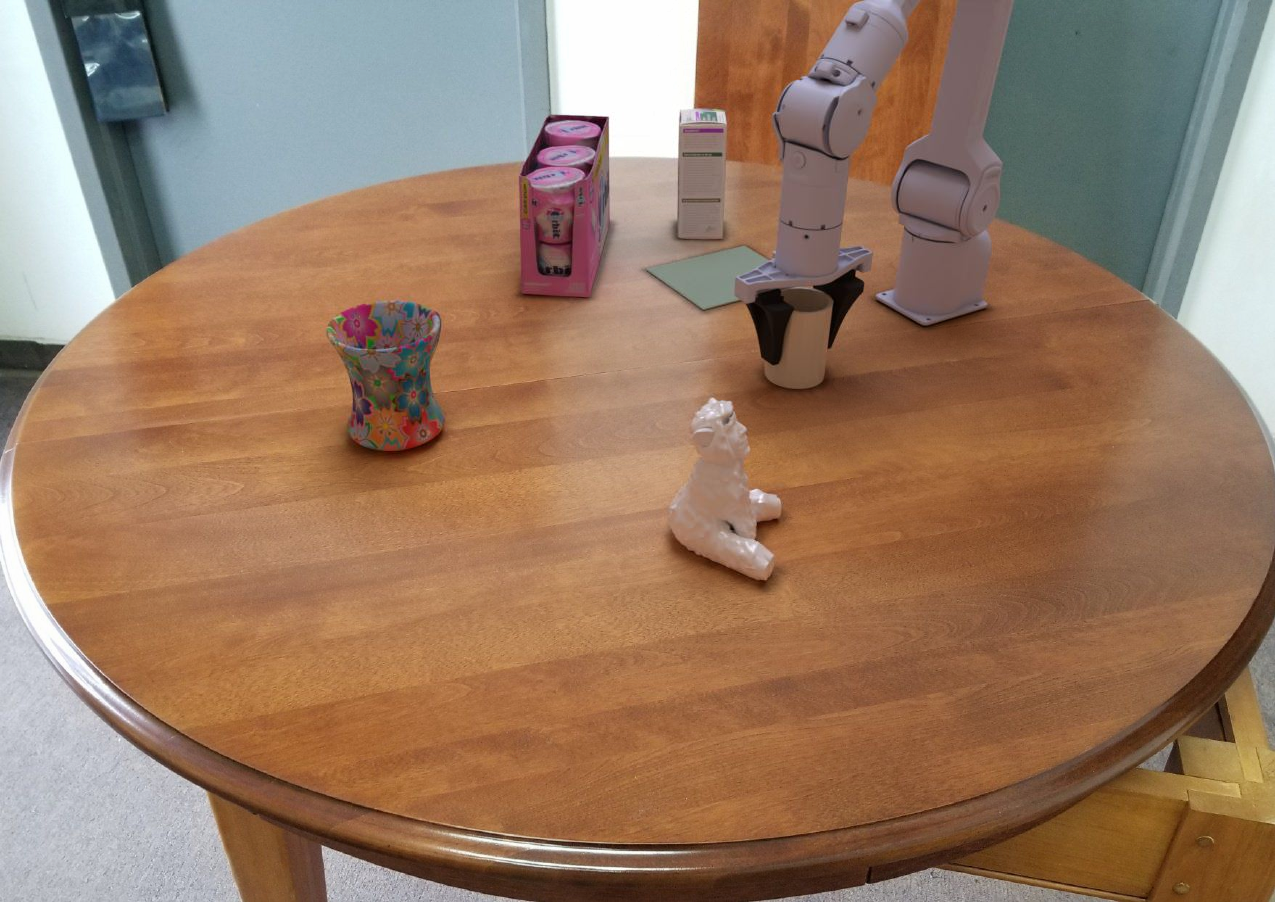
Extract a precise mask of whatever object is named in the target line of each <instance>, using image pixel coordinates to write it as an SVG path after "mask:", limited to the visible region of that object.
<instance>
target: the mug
mask: <svg viewBox="0 0 1275 902" xmlns="http://www.w3.org/2000/svg"><path fill="white" fill-rule="evenodd" d="M441 317H442V316H441V315H440V313H439V312H437V311H436V310H434V309H431V308H429V307H428V306H426V305H423V304H420V303H418V302H417V303H416V302H412V301H405V300H380V301H379V300H378V301H371V302H367V303H362V304H358V305H355V306H352V307H349V308H347V309H345V310H343V311H341V312H340V313H338V314H337V315H335V316H334V317H333V318H332V319H331V320H330V321H329V323H328V324H327V327H326V330H325V331H326V337H327V339H328V341H329V343H330V344H331V345H332V346H333V348H334V349H335V350H336V352H337V354H338V355H339V358H340V359H341V361H342V363H343V365H344V367H345V370H346V372H347V375H348V379H349V383H350V387H351V393H352V407H351V412H350V415H349V418H348V421H347V426H346V429H347V433H348V434H349V437H350V438H351V439H352V440H353V441H354V442H355V443H357V444H358V445H359V446H362V447H364V448H366V449H370V450H375V451H384V452H394V451H395V452H396V451H397V452H398V451H404V450H409V449H413V448H416V447H419V446H421V445H423V444H426V443H428V442H429V441H431V440H433V439H434V438H435V437H437V436H438V435H439V434H440V432H441V431H442V430H443V428H444V425H445V423H446V416H445V413H444V411H443V409H442V408H441V406H440V405H439V403H438V401H437V399H436V397H435V395H434V390H433V388H432V382H431V362H432V360H433V358H434V355H435V353H436V350H437V348H438V345H439V341H440V337H441V331H442V318H441Z"/></svg>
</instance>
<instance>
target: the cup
mask: <svg viewBox="0 0 1275 902" xmlns="http://www.w3.org/2000/svg"><path fill="white" fill-rule="evenodd" d="M781 296H784V301H785V302H787V303H788V304H790V305H791V306H793V307H794V308H795V309H794V311H793V313H792V315H791V317H790V319H789V322H788V325H787V328H786V331H785V335H784V341H783V349H782V356H781V359H780V362H779V364H777V365H771V364H770V363H768V362H767V361H766V360H764V365H763V367H764V371H763V372H764V376H765V378H766V379H767V380H768V381H769V382H770V383H772V384H774V385H776V386H779V387H782V388H786V389H792V390H804V389H810V388H813V387H816V386H818V385H819V384H821V383H822V382H823V381H824V379H825V372H826V366H827V358H828V351H829V349H828V343H829V335H830V326H831V318H832V310H833V302H834V301H833V299H832V298H831V297H830V295H828V294H826V293H825V292H823V291H820V290H817V289H814V288H813V287H809V286H802V287H794V288H790V289H786V290H782V291H781Z"/></svg>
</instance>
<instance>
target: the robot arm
mask: <svg viewBox="0 0 1275 902" xmlns="http://www.w3.org/2000/svg"><path fill="white" fill-rule="evenodd" d="M920 2H921V0H861V1H856V2H854V3H852V5H851V6H850V7H849V9H848V10H847V12H846V13H845V15H844V17H843V18H842V20H841V21H840V23H839V25H838V26H837V28H836V30H835V31H834V33H833V34H832V36H831V38H830V39H829V40H828V42H827V43H826V45H825V47H824V49H823V50H822V52H821V53H820V56H818V58H817V60H816V61H815V63H814V64H813V66H812V67H811V69H810V70H809V72H808V74H807V75H804V76H801V77H799V79H796V80H793V81H791V82H790V83H789V84H788V85H786V86H785V88H784V89H783V91H782V92H781V94H780V96H779V98H778V101H777V105H776V108H775V112H773V113H772V115H771V124H772V131H773V134H774V136H775V138H776V139H777V143H778V151H777V152H778V153H777V158H778V159H779V162H780V163H781V164H782V177H781V187H780V196H779V199H780V200H779V211H778V220H777V221H778V223H777V234H776V245H775V246H776V247H775V250H773V251H772V257H771V259H770V260H769V259H768V260H769V261H768V262H766V263H764V264H762V265H761V266H759V267H757V268H755V269H753V270H752V271H750V272H748V273H745V274H743V275H739V276H736V277H735V291H734V296H736V297H737V298H738V299H740V300H741V302H743V303H744V304H745V306H746V308H747V310H748V312H749V314H750V316H751V317H750V318H751V319H752V322H753V325H754V329H755V332H756V337H757V341H758V347H759V353H760V358H761V359H762V360H764V361H765V360H766V361H767V362H768V363H770V364H771V365H777V364H779V362H780V359H781V356H782V349H783V341H784V335H785V331H786V328H787V325H788V322H789V319H790V317H791V315H792V313H793V311H794V309H795V308H794V307H793V306H791V305H790V304H788V303H787V302H785V301H784V296H781V291H782V290H786V289H790V288H794V287H812V288H814V289H817V290H820V291H823V292H825V293H826V294H828V295H830V297H831V298H832V299H833V301H834V302H833V310H832V318H831V326H830V335H829V343H828V350H829V349H832V347H833V345H834V343H835V341H836V338H837V335H838V333H839V331H840V329H841V326H842V324H843V322H844V320H845V317H846V316H847V314H848V312H849V311H850V310H851V308H852V306H853V305H854V304H855V302H856V301H857V300H858V298H860V296H861V295H862V294H863V293H864V289H865V281H864V280H862V279H861V278H859V277H857V276H856V274H857V271H858V272H859V273H863V274H864V273H868V272H871V270H872V264H873V257H874V251H872V250H869V249H867V248H866V247H864V246H862V245H859V244H858V245H855V246H848V247H841V242H842V233H843V225H844V224H843V223H844V217H845V208H846V199H847V193H848V192H847V191H848V183H849V175H850V167H851V159H852V154H854V153H855V152H856V151H857V150H858V149H859V147H860V146H861V144H862V143H863V142H864V141H865V139H866V137H867V135H868V133H869V130H870V128H871V127H870V126H871V123H872V116H873V113H874V110H875V108H876V107H877V102H878V99H879V98H878V96H877V92H878V91H879V89H880V87H881V86H882V84H883V82H884V81H885V79H886V77H887V76H888V74H889V73H890V71H891V69H892V68H893V67H894V65H895V63H896V62H897V60H898V58H899V57H900V55H901V54H902V53H903V50H904V49H905V47H906V46H907V44H908V43H909V30H908V25H907V19H908V18H909V17H910V16H911V14H912V13H913V11H914V10H915V9H916V7H917V5H919V3H920ZM1014 2H1015V0H957V1H956V5H955V11H954V15H953V20H952V24H951V28H950V33H949V39H948V43H947V47H946V53H945V59H944V63H943V67H942V72H941V77H940V82H939V87H938V92H937V97H936V102H935V107H934V110H933V116H932V120H931V124H930V129H929V133H928V134H926V135H924V136H922V137H920V138H918V139H916V140H915V141H913V142H911V143H910V144H909V145H907V146H906V148H905V150H904V153H903V157H902V160H901V163H900V166H899V168H898V170H897V172H896V174H895V176H894V180H893V181H892V185H891V190H890V200H891V205H892V208H893V211H894V212H895V213H896V214H898V215H899V216H898V224H899V225H902V226H903V231H902V236H901V237H902V238H901V244H900V250H899V256H898V263H897V268H896V275H895V282H894V287H893V289H889V290H886V291H882V292H878V293H876V295H875V299H876V300H877V301H879V302H880V303H883V304H884V305H886V306H888V307H889V308H891V309H893V310H894V311H896V312H898V313H900V314H901V315H904V316H905V317H907V318H909V319H910V320H912V321H914V322H916V323H918V324H919V325H921V326H930V325H933V324H937V323H940V322H943V321H946V320H947V321H948V320H949V319H950V320H951V319H952V318H956V317H959V316H960V317H961V316H963V315H966V314H969V313H974V312H977V311H979V310H983V309H987V308H988V302H986V301H985V300H983V297H984V291H985V288H986V282H987V279H988V273H989V269H990V264H991V258H992V254H993V253H992V251H993V245H992V244H993V243H992V240H991V236H990V234H989V232H988V230H987V229H988V228H989V227H990V225H991V224H992V223H993V221H994V219H995V217H996V215H997V212H998V210H999V207H1000V204H1001V203H1000V202H1001V178H1002V172H1003V165H1004V164H1003V162H1002V160H1001V159H1000V157H999V156H998V155H997V154H996V152H995V151H994V150H993V149H992V148H991V147H990V145H989V144H988V143H987V142H986V140H985V139H984V136H983V135H984V131H985V127H986V122H987V119H988V113H989V110H990V106H991V101H992V96H993V93H994V89H995V84H996V79H997V76H998V70H999V66H1000V62H1001V57H1002V53H1003V50H1004V45H1005V41H1006V37H1007V34H1008V33H1007V32H1008V28H1009V24H1010V20H1011V15H1012V11H1013V7H1014Z"/></svg>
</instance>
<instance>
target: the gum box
mask: <svg viewBox="0 0 1275 902" xmlns="http://www.w3.org/2000/svg"><path fill="white" fill-rule="evenodd" d="M610 188H611V187H610V116H606V115H605V116H604V115H583V114H582V115H580V114H552V113H551V114H547V116H546V117H545V119H544V121H543V123H542V126H541V128H540V130H539V132H538V135H537V137H536V139H535V141H534V142H533V144H532V147H531V149H530V151H529V153H528V155H527V157H526V158H525V161H524V162H523V164H522V166H521V167H520V171H519V173H518V190H519V191H518V193H519V199H518V200H519V233H520V234H519V240H520V241H519V243H520V279H521V280H520V281H521V282H520V283H521V294H522V295H523V294H525V295H526V294H527V295H541V296H553V297H554V296H556V297H557V296H558V297H577V298H590V295H591V292H592V288H593V284H594V282H595V278H596V273H597V270H598V267H599V265H600V261H601V256H602V253H603V250H604V246H605V242H606V239H607V236H608V232H609V229H610V228H609V227H610V224H611V216H610V211H611V210H610V209H611V208H610V207H611V206H610V205H611V203H610V202H611V201H610V199H611V198H610V191H611V190H610Z"/></svg>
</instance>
